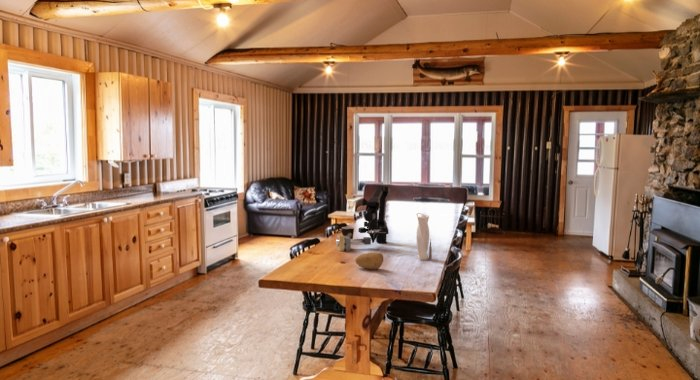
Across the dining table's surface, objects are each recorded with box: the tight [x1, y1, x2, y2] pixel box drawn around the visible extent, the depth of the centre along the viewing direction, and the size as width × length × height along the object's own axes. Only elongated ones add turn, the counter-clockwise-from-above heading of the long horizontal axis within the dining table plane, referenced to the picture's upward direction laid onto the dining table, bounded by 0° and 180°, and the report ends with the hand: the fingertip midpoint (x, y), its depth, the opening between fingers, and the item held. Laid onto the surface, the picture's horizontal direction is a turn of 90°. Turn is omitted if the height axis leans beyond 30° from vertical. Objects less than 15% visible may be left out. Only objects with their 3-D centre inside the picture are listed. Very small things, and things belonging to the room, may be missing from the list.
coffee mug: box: [336, 226, 355, 239], centre depth 325 cm, size 12×9×10 cm
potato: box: [354, 251, 384, 270], centre depth 254 cm, size 9×16×9 cm, turn 70°
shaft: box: [335, 236, 372, 246], centre depth 303 cm, size 22×4×4 cm, turn 103°
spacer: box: [336, 233, 345, 252], centre depth 301 cm, size 3×8×10 cm, turn 13°
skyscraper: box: [416, 212, 433, 262], centre depth 276 cm, size 8×8×28 cm
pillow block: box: [344, 236, 352, 252], centre depth 302 cm, size 3×9×8 cm, turn 13°
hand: (373, 242), depth 306 cm, fingers closed
